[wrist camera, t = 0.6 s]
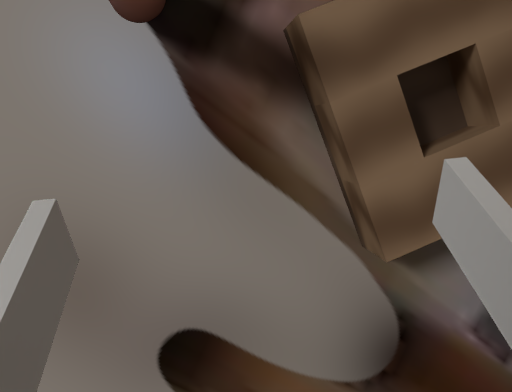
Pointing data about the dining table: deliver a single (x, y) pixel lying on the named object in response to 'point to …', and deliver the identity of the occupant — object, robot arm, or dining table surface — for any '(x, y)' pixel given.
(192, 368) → the dining table surface
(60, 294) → the robot arm
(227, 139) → the dining table surface
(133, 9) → the peg
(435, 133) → the socket block
